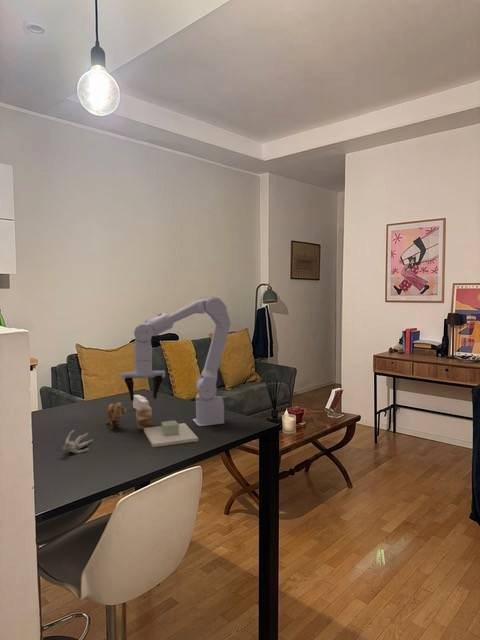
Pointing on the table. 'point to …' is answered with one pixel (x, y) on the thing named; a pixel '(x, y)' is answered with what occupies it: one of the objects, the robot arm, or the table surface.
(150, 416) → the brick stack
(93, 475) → the table surface
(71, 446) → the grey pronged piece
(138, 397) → the beige rectangular block
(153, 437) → the board
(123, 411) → the lion figurine
